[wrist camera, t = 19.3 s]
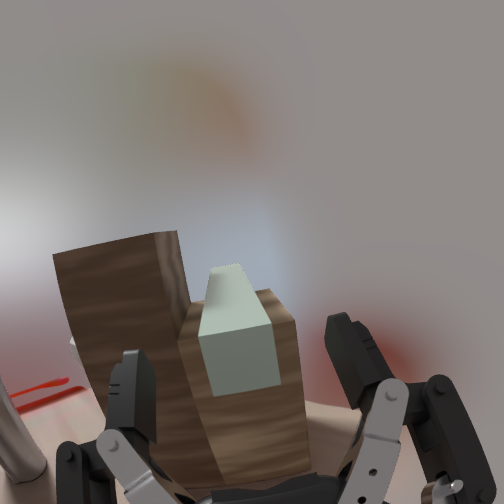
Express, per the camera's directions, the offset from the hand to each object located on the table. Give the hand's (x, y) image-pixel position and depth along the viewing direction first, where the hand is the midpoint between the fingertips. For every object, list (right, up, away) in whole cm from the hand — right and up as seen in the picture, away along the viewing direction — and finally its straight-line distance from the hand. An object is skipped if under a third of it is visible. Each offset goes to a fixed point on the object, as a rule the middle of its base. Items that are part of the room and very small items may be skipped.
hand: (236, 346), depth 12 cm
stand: (-3, -25, +22) cm, 34 cm away
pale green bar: (-1, -3, +17) cm, 17 cm away
